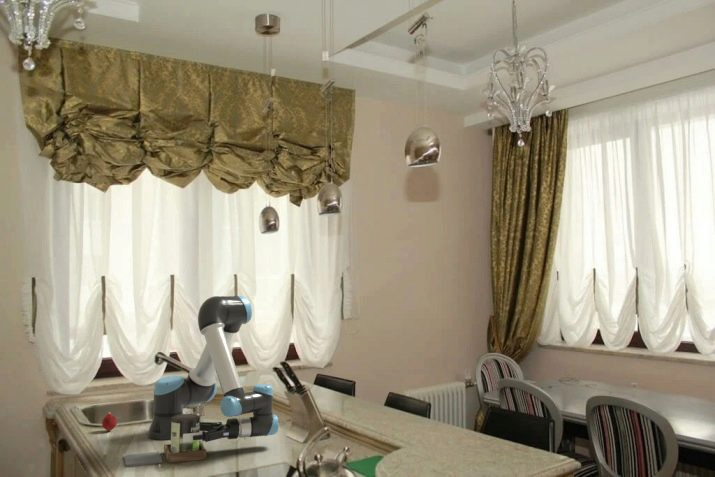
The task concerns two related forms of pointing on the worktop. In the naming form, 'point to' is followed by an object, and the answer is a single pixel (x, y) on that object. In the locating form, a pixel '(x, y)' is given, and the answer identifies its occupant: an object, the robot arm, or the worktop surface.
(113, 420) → the onion
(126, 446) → the worktop surface
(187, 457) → the wooden square tray
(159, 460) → the mat
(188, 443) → the coffee can
